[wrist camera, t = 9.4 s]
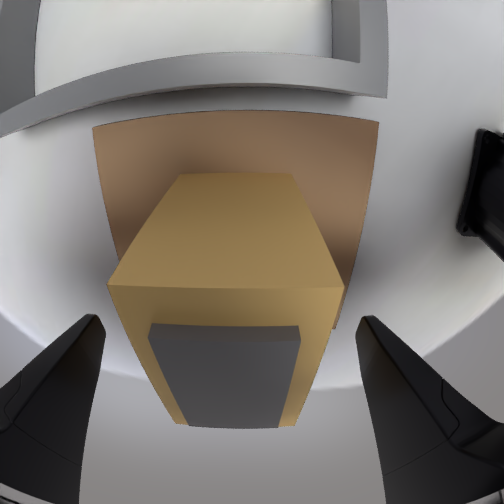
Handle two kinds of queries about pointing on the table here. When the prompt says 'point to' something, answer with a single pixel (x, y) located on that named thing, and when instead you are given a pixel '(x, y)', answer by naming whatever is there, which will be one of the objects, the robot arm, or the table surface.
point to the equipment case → (193, 67)
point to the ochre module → (229, 299)
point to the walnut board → (242, 166)
